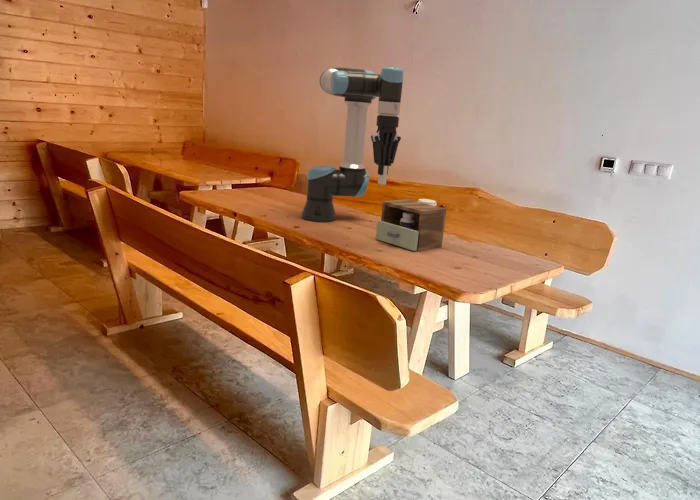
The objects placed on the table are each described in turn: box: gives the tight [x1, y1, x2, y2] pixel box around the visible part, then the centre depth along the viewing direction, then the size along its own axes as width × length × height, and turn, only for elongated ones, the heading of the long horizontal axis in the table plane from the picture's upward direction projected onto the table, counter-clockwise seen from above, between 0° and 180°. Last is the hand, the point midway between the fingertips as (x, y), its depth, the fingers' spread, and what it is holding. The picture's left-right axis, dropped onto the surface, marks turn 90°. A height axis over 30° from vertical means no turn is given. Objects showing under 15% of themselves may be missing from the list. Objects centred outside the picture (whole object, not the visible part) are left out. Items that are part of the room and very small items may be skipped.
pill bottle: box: [400, 212, 414, 230], centre depth 199 cm, size 5×5×10 cm
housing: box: [380, 198, 448, 252], centre depth 201 cm, size 20×14×15 cm
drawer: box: [375, 220, 419, 252], centre depth 200 cm, size 20×16×7 cm
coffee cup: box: [417, 198, 438, 206], centre depth 214 cm, size 8×8×15 cm
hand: (381, 183), depth 184 cm, fingers closed
